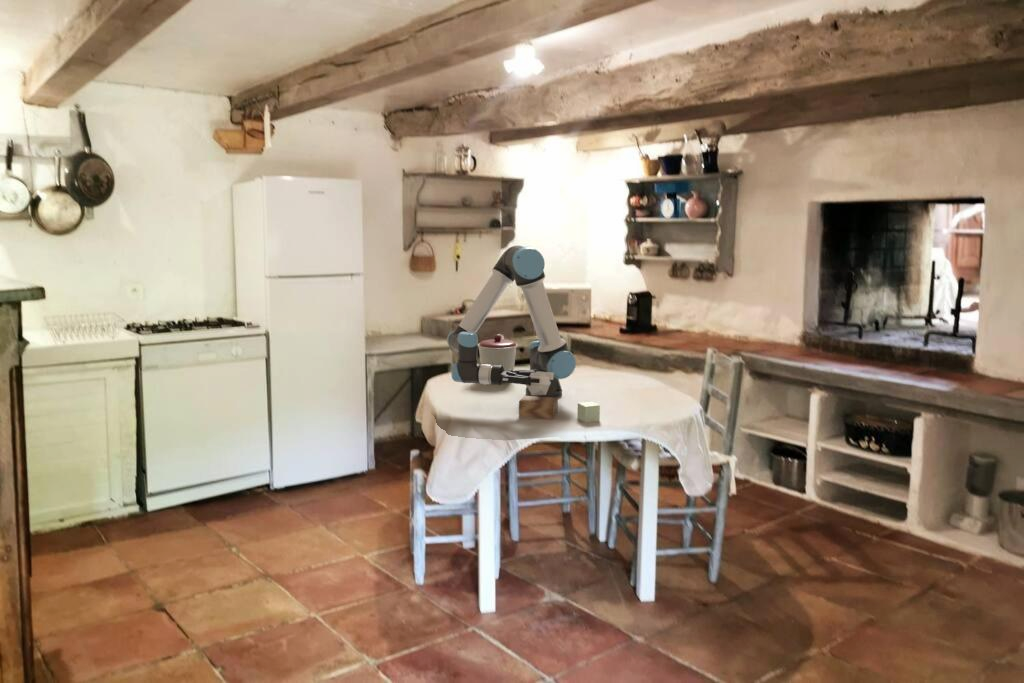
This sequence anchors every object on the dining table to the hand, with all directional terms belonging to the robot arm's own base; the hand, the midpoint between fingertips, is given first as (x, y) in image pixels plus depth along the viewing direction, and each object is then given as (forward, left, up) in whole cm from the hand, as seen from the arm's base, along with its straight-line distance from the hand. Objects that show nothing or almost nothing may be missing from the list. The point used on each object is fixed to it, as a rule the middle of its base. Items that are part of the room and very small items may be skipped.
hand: (550, 378), depth 296 cm
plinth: (+4, -2, -14) cm, 15 cm away
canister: (+7, -63, -15) cm, 65 cm away
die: (+4, -2, -6) cm, 8 cm away
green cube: (-12, +8, -14) cm, 21 cm away
